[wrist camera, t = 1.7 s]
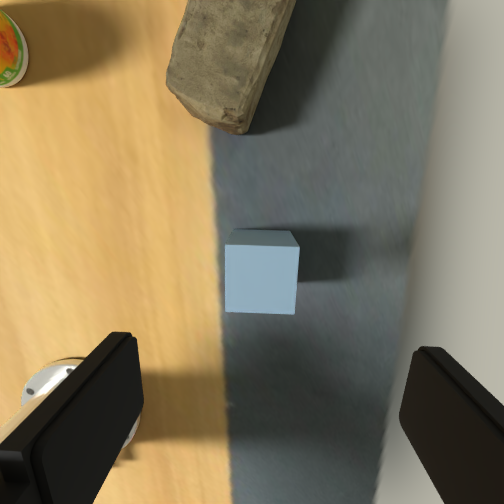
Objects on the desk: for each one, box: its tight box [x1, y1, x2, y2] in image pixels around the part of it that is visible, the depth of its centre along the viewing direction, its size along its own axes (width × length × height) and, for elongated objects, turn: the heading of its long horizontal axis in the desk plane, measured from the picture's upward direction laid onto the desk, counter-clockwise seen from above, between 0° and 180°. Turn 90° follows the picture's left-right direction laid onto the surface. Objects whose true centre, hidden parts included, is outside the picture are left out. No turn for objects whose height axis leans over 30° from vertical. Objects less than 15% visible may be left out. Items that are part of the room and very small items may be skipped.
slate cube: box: [225, 229, 300, 314], centre depth 21 cm, size 5×5×6 cm
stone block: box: [166, 0, 296, 135], centre depth 17 cm, size 6×12×5 cm, turn 158°
